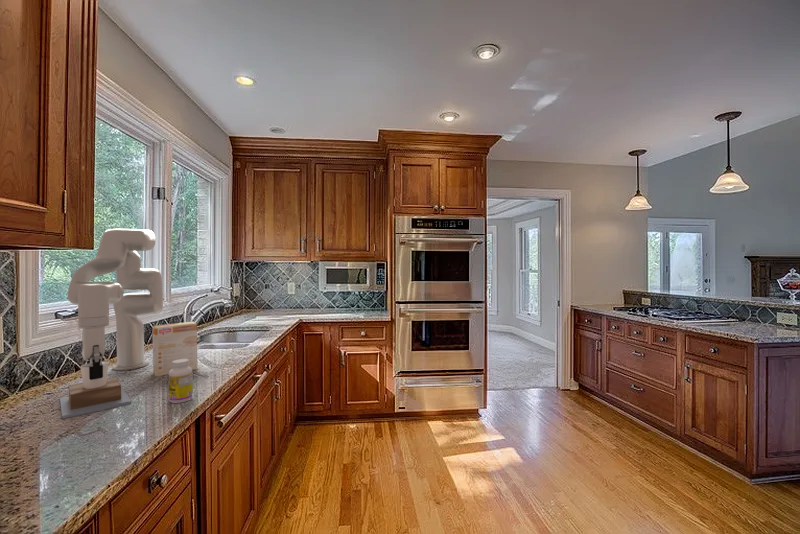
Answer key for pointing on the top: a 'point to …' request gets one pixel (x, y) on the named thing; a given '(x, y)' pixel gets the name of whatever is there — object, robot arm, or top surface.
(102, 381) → the white tapered cup
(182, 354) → the coffeecake box
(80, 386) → the walnut plinth
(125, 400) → the slate gray board
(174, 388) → the supplement bottle
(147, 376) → the top surface
